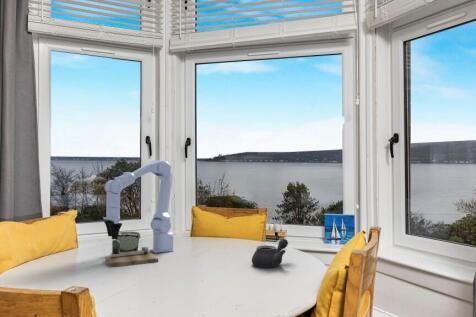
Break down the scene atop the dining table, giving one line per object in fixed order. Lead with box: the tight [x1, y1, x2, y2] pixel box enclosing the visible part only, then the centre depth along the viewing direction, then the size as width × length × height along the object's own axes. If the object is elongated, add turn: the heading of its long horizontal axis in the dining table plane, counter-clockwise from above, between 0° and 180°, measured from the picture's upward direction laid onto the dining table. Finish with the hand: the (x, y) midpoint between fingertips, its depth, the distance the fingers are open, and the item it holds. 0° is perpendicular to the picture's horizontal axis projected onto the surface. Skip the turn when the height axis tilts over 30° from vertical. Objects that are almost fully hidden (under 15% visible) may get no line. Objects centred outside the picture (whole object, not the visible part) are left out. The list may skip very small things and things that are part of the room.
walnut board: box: [105, 252, 159, 268], centre depth 168 cm, size 20×12×2 cm, turn 118°
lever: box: [110, 239, 150, 257], centre depth 172 cm, size 16×3×7 cm, turn 120°
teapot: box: [251, 238, 289, 268], centre depth 165 cm, size 19×15×10 cm
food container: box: [115, 231, 141, 252], centre depth 182 cm, size 12×6×10 cm, turn 84°
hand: (112, 237), depth 172 cm, fingers open, 7 cm apart
